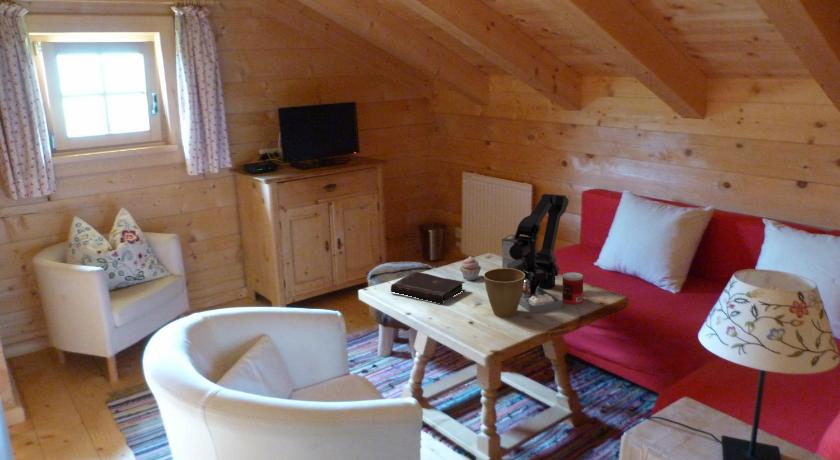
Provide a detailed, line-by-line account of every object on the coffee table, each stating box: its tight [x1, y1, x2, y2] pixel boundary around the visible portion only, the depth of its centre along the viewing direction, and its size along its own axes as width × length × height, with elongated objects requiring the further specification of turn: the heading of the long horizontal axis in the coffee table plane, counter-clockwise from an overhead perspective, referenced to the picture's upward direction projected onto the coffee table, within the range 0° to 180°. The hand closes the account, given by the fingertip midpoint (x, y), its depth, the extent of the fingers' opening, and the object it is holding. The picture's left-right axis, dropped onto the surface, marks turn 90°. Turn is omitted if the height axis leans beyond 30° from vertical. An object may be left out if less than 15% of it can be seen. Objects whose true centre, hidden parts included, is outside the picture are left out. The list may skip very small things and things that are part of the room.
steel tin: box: [521, 277, 536, 299], centre depth 258 cm, size 6×6×7 cm
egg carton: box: [529, 294, 554, 305], centre depth 249 cm, size 8×5×4 cm, turn 109°
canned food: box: [561, 272, 584, 305], centre depth 253 cm, size 8×8×11 cm
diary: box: [390, 271, 466, 305], centre depth 271 cm, size 19×25×5 cm
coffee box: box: [501, 234, 518, 268], centre depth 290 cm, size 9×6×16 cm
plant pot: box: [483, 267, 525, 318], centre depth 243 cm, size 15×15×16 cm
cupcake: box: [459, 255, 482, 281], centre depth 285 cm, size 9×9×10 cm
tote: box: [518, 286, 563, 314], centre depth 255 cm, size 13×21×4 cm, turn 19°
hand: (528, 291), depth 258 cm, fingers closed on steel tin, 6 cm apart
